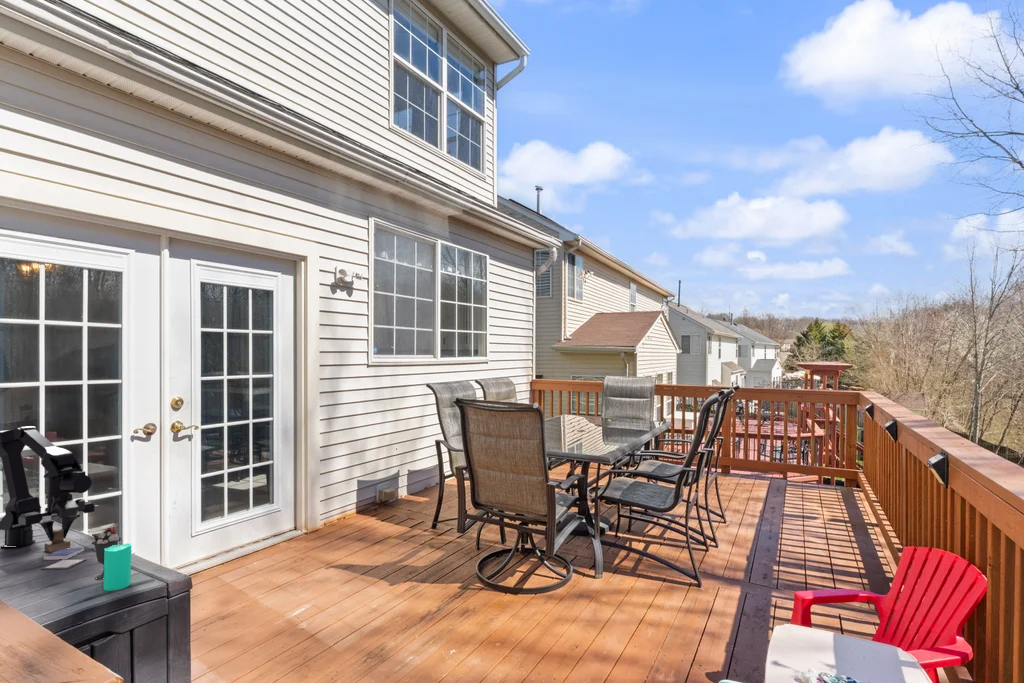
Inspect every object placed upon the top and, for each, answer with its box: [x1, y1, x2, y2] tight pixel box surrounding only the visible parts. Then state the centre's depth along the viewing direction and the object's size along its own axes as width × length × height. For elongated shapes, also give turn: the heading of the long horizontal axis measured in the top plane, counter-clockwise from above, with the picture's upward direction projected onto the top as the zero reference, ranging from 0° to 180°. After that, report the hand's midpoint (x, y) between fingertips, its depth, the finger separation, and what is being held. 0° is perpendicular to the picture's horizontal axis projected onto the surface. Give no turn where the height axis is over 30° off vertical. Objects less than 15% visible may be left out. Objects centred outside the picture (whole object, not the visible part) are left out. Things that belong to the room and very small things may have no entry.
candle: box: [103, 541, 132, 592], centre depth 145 cm, size 6×6×12 cm
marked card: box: [40, 558, 87, 570], centre depth 161 cm, size 8×8×1 cm
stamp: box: [43, 528, 71, 554], centre depth 175 cm, size 5×5×6 cm
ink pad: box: [43, 547, 85, 561], centre depth 169 cm, size 7×7×1 cm
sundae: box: [91, 521, 122, 579], centre depth 152 cm, size 7×7×15 cm
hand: (57, 539), depth 175 cm, fingers closed on stamp, 3 cm apart
